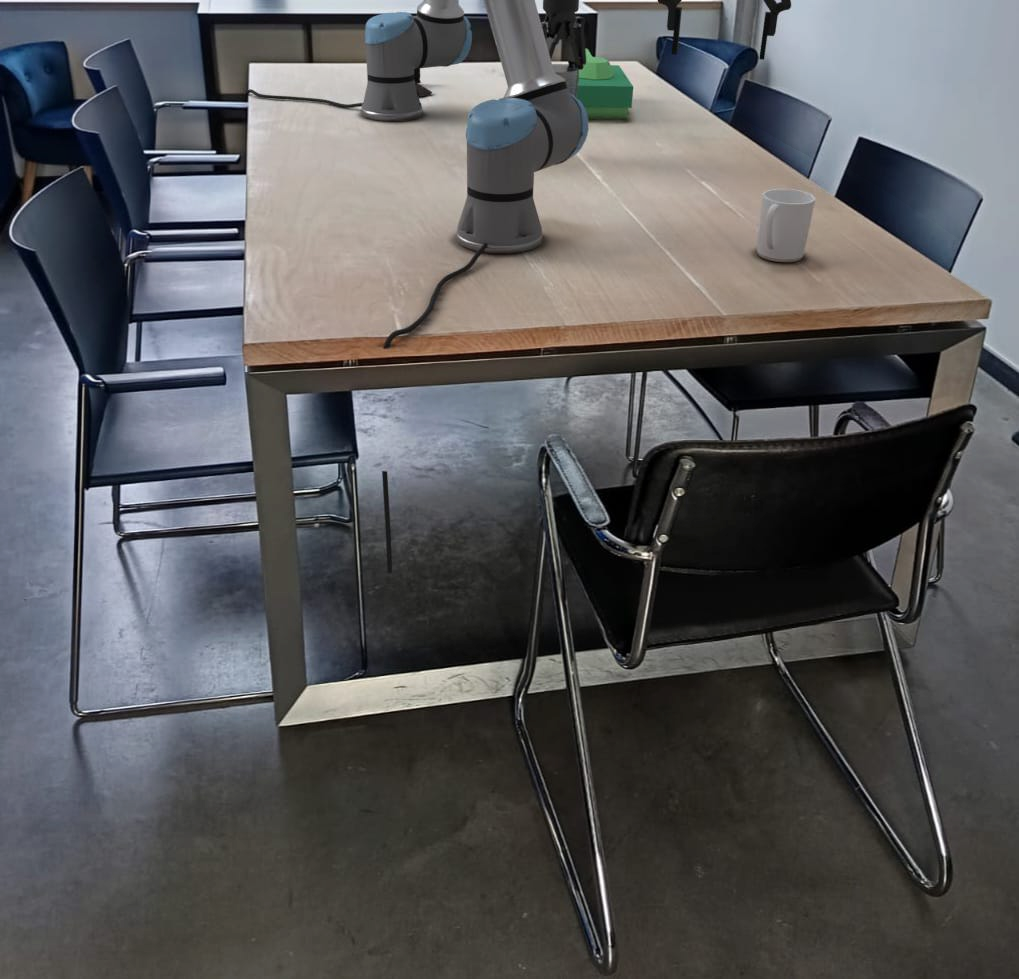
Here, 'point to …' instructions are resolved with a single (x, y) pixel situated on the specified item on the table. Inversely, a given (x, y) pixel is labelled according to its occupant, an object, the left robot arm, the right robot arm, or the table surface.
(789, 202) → the mug
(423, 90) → the axe head
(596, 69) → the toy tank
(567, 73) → the tin
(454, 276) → the right robot arm
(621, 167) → the table surface
